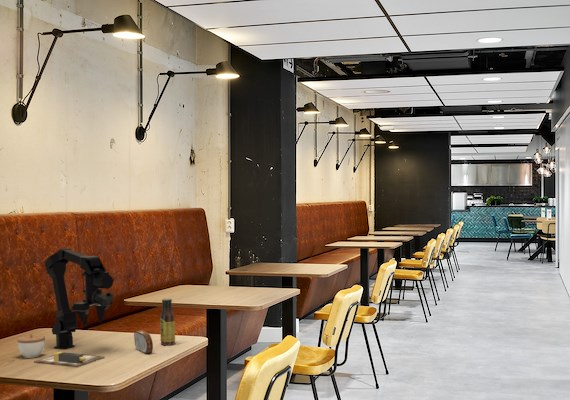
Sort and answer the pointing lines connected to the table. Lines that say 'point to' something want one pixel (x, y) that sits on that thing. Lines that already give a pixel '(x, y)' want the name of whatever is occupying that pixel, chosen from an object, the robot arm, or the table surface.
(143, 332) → the tin
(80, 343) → the table surface
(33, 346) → the lidded jar
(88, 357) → the writing board
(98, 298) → the robot arm
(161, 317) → the sauce bottle
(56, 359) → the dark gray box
